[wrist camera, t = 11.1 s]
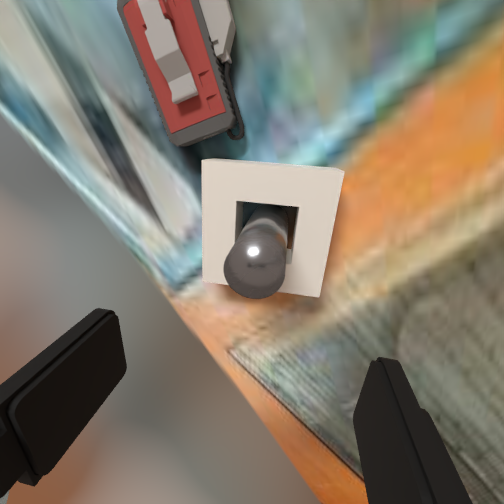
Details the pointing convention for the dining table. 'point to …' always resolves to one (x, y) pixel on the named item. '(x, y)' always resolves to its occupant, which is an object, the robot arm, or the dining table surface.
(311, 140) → the dining table surface
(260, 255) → the peg
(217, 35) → the walkie-talkie
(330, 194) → the socket block
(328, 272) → the dining table surface
